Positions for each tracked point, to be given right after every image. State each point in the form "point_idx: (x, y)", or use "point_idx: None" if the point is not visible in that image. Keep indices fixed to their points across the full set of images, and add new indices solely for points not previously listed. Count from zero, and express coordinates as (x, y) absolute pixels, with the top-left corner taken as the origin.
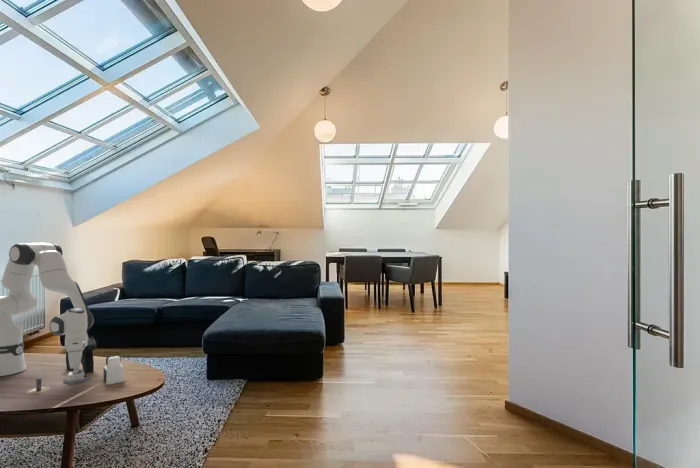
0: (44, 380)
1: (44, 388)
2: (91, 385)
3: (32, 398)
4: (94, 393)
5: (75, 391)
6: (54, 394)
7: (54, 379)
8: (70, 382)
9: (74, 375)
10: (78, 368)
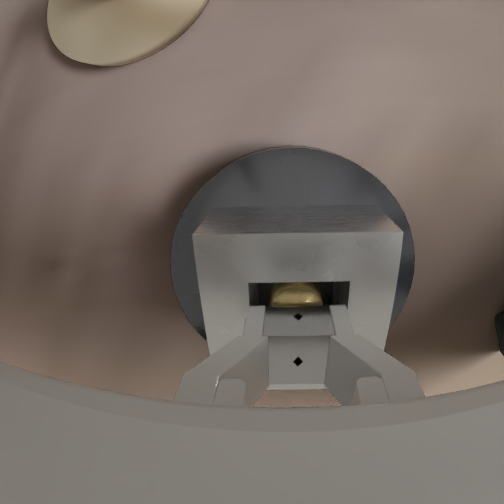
0: (501, 6)
1: (144, 7)
2: (140, 362)
3: (24, 13)
4: (16, 353)
5: (46, 271)
6: (29, 136)
7: (500, 73)
8: (185, 234)
9: (204, 302)
10: (295, 383)
